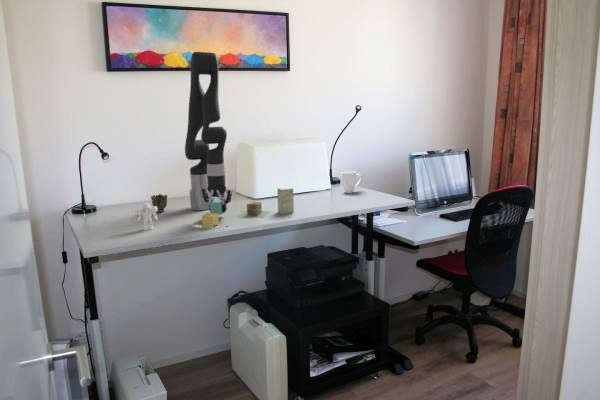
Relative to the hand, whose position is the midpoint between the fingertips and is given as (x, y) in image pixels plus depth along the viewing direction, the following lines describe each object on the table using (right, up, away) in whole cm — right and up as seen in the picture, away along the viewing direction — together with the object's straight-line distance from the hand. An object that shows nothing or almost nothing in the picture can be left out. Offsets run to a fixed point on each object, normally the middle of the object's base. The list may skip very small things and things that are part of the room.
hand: (218, 211), depth 207 cm
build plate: (+15, -2, +6) cm, 17 cm away
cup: (-31, -1, +19) cm, 36 cm away
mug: (+64, +9, +54) cm, 84 cm away
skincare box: (+30, -2, +8) cm, 31 cm away
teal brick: (0, -1, 0) cm, 1 cm away
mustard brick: (-2, -6, -8) cm, 10 cm away
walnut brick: (+15, -1, +5) cm, 16 cm away
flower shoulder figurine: (-27, -7, -11) cm, 30 cm away
